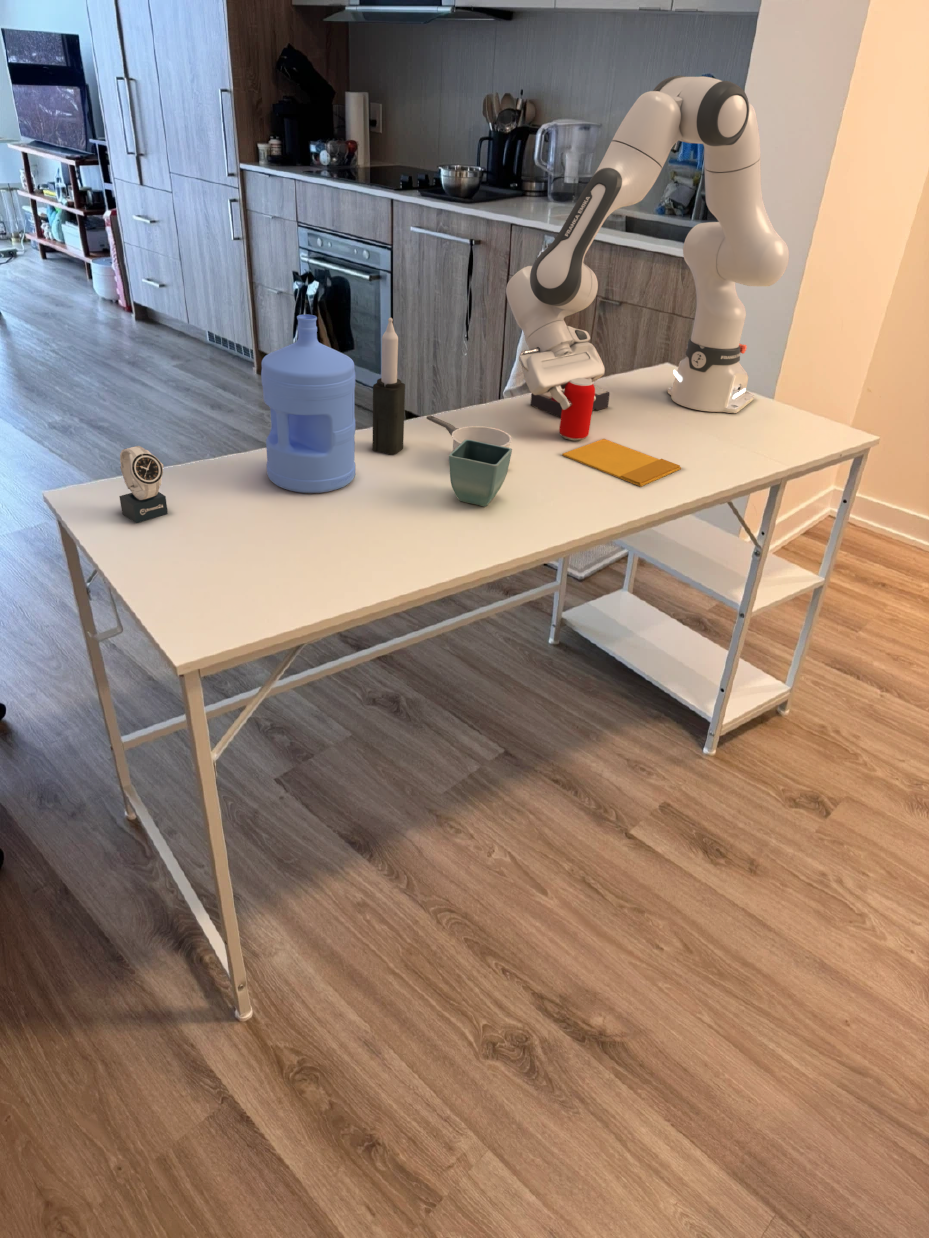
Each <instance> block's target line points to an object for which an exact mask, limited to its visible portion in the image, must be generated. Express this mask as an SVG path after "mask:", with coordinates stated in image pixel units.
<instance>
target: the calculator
mask: <svg viewBox="0 0 929 1238" xmlns="http://www.w3.org/2000/svg"><path fill="white" fill-rule="evenodd" d="M594 387H595V397H596V400H595V401H594V402H593V409H592V411H593V410H596V411H601V410H603V409H606V408H608V407H609V401H610V395H611V393H610V391H608V390H607V389H604V388H601V387H599V386H596V385H594ZM564 390H565V389H562V391H561V392H562V393H563V394H564ZM530 393H531V392H530ZM530 406H531V407H534V408H536V409H538V410H541V411H544V412H546V413H549V414H551V415H552V416H555V417H558V418H561V413H562V407H561V405H560V403H559V402H557V401H556V400H555V399H554V398H553V397H552V396H551V394H550V392H548V393H544V394H539V395H534V394H532V393H531V394H530Z"/></svg>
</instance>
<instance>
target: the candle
mask: <svg viewBox="0 0 929 1238" xmlns="http://www.w3.org/2000/svg"><path fill="white" fill-rule="evenodd" d="M393 319H394V318H392V317H389V318H387V320H388V323H387V326H386V328H385V331H384V333H383V335H382V336H381V377H380V378H378V379H377V380H376V382H375V383H374V384H373V385H372V443H371V445H372V449H371V450H372V451H373V452H375V453H382V454H386V455H388V456H389V455H390V456H394V455H397V454H398V453H399V452H401V451H402V450H403V449H404V436H405V435H404V434H405V406H406V405H405V399H406V398H405V397H406V384H405V383H404V382H402V380H401V379H399V378H398V358H399V357H398V356H399V355H398V354H399V336H398V335H397V333H396V331H395V327H394V323H393V321H394V320H393Z"/></svg>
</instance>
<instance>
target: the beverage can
mask: <svg viewBox="0 0 929 1238" xmlns="http://www.w3.org/2000/svg"><path fill="white" fill-rule="evenodd" d="M594 386H595V385H594V382H592V381H590V380H588V379H585V378H576V379H571V380H570V381H569V382H568V383H567V384H566V386H565V390H564V395H565V396H566V397H567V398H570V400H571V402H572V404H573V405H572V407H570V408H569V409H565V410H563V409H562V413H561V417H560V421H559V429H558V433H559V435H560V436H561V437H563V438H564V439H565V440H567V441H573V442H576V441H582V440H585V439H586V438H587V437H588V436H589V435H590V429H591V421H592V415H593V410H592V409H593V402H594V396H595V387H594Z"/></svg>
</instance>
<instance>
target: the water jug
mask: <svg viewBox="0 0 929 1238" xmlns="http://www.w3.org/2000/svg"><path fill="white" fill-rule="evenodd" d="M296 319H297V324H298V325H297V335H298V336H297V340H296V341H295V342H293V343H290V344H288V345H286V346H283V347H280V348H279V349H277V350H274V351H272V352H269V353H268V354H266V355H265V356H264V357H263V358H262V360H261V371H260V378H261V385H262V386H261V387H262V394H263V395H262V396H263V402H264V404H265V405H266V406H268V407H269V409H270V410H269V411H270V424H271V425H270V431H269V434H268V435H267V437H266V439H265V445H266V446H265V447H266V475H267V478H268V479H269V480H270V482H272V483H273V484H274V485H275V486H277V487H279V488H282V489H284V490H287V491H290V492H296V493H302V494H303V493H304V494H319V493H327V492H332V491H336V490H339V489H342V488H344V487H346V486H348V485H349V484H350V483H352V482H353V480H354V479H355V476H356V462H355V461H356V460H355V456H356V455H355V447H356V445H355V443H356V441H355V440H356V439H355V438H356V437H355V435H356V416H355V413H356V412H355V390H356V371H355V361H354V360H353V359H352V358H351V357H350V356H348V355H347V354H345V353H343V352H341V351H338V350H336V349H334V348H332V347H330V346H327V345H325V344H323V343H321V342H319V339H318V333H317V332H318V326H317V320H318V317H317V315H313V314H298V315H297V316H296Z"/></svg>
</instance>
